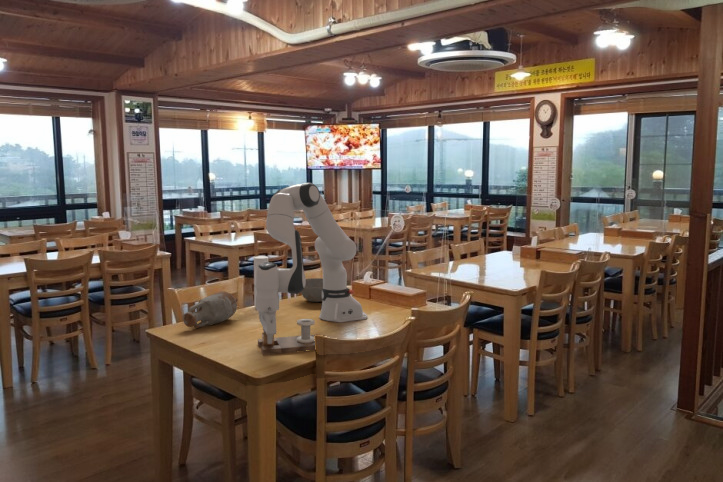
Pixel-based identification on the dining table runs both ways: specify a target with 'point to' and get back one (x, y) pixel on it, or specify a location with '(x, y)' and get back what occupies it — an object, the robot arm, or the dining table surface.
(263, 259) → the cylindrical container
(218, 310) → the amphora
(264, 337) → the tan wooden block
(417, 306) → the dining table surface
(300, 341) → the bobbin
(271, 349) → the notched board
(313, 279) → the ceramic bowl
